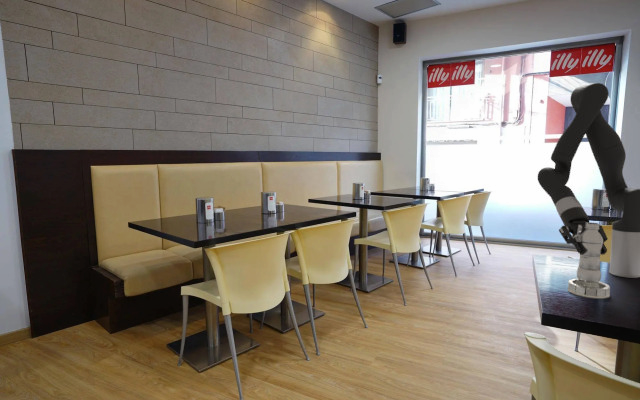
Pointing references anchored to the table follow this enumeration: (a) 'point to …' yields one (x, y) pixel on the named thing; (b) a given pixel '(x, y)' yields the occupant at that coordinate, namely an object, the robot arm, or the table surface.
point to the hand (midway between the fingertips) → (593, 253)
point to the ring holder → (589, 289)
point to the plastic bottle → (590, 254)
